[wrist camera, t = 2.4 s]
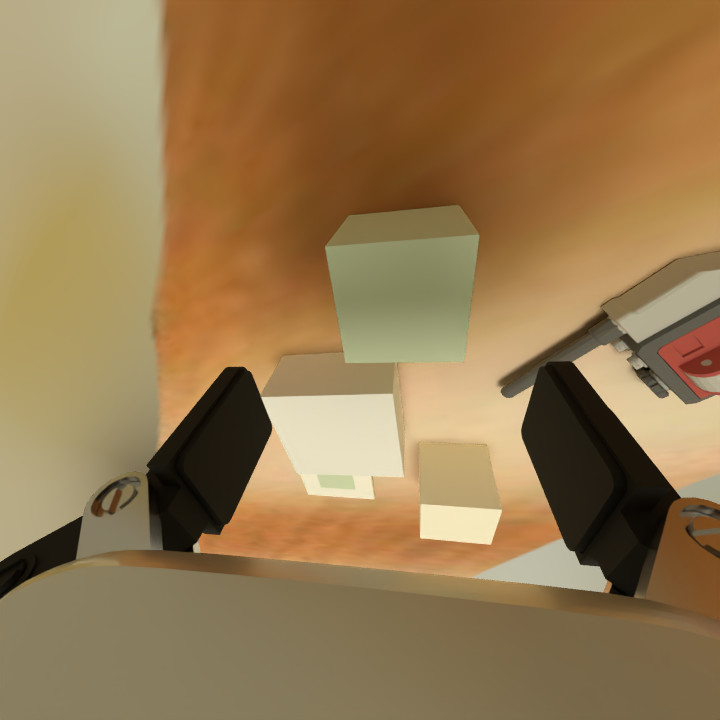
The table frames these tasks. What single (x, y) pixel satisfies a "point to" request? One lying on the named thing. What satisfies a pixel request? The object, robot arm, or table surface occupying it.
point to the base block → (337, 415)
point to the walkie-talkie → (660, 331)
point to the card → (339, 485)
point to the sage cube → (404, 284)
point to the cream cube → (457, 493)
